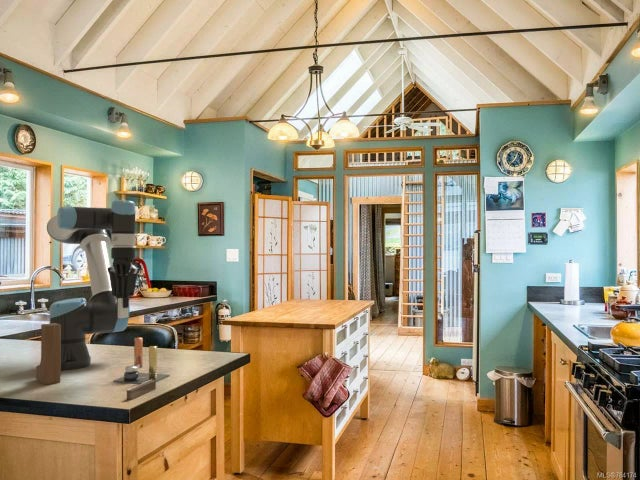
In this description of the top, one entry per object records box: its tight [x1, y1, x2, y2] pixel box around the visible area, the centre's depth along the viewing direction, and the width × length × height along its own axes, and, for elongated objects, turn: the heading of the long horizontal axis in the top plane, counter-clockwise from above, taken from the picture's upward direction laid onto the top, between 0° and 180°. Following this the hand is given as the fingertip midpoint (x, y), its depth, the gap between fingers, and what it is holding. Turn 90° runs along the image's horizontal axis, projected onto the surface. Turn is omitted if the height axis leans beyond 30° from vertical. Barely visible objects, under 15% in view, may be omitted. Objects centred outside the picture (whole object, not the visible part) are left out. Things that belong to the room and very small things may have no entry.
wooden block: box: [35, 323, 62, 385], centre depth 170 cm, size 9×4×18 cm, turn 44°
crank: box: [125, 337, 144, 373], centre depth 174 cm, size 10×4×10 cm, turn 0°
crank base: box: [112, 345, 171, 385], centre depth 173 cm, size 13×12×10 cm
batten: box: [126, 380, 157, 401], centre depth 155 cm, size 2×12×3 cm, turn 165°
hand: (122, 317), depth 181 cm, fingers closed
